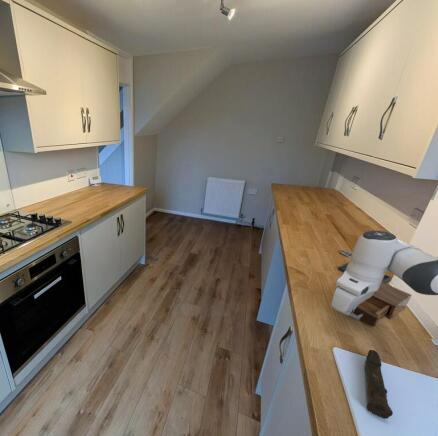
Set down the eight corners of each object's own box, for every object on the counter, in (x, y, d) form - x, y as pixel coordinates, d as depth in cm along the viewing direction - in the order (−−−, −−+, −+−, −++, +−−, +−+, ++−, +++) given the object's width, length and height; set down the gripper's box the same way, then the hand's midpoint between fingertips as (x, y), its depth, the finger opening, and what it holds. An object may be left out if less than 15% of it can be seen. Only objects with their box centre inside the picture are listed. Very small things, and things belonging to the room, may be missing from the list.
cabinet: (389, 319, 84) (396, 306, 82) (345, 296, 95) (350, 284, 93) (405, 306, 90) (411, 294, 88) (362, 286, 101) (366, 275, 99)
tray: (390, 280, 105) (392, 277, 105) (377, 288, 100) (379, 284, 100) (350, 264, 118) (351, 261, 117) (337, 270, 113) (338, 266, 112)
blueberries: (340, 250, 132) (342, 247, 131) (359, 255, 126) (360, 252, 125) (337, 253, 128) (338, 250, 127) (356, 259, 122) (357, 256, 121)
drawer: (367, 331, 77) (371, 322, 76) (326, 307, 87) (329, 299, 86) (390, 314, 84) (394, 306, 83) (349, 294, 95) (352, 286, 93)
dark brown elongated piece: (388, 423, 54) (396, 410, 52) (365, 410, 56) (372, 397, 54) (380, 364, 67) (387, 352, 66) (362, 356, 70) (368, 344, 68)
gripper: (365, 266, 83) (352, 298, 88) (333, 281, 74) (321, 316, 79) (388, 275, 78) (373, 309, 83) (357, 293, 69) (342, 329, 74)
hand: (347, 312), depth 81 cm, fingers closed
